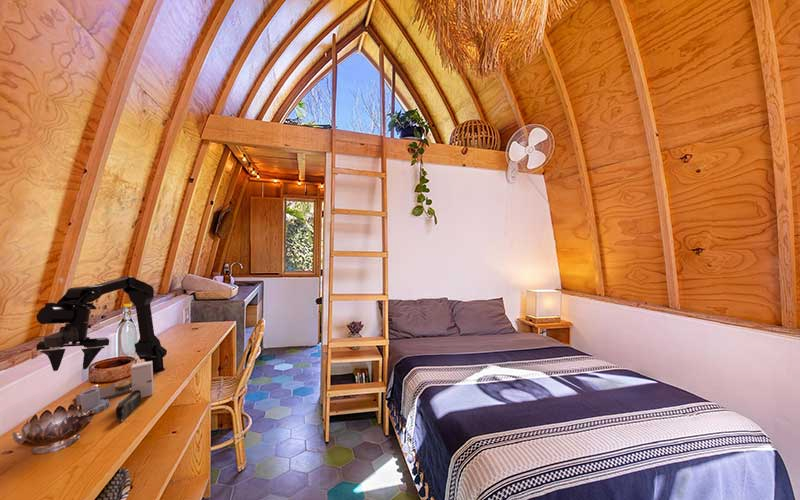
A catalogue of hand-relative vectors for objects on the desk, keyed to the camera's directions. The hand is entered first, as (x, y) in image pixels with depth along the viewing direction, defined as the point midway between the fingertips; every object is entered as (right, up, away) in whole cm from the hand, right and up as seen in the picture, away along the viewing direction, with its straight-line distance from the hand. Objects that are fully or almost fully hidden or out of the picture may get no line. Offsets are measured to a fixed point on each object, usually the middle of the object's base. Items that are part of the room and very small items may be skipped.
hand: (70, 370), depth 106 cm
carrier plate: (-1, -15, +15) cm, 21 cm away
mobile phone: (+20, -15, 0) cm, 25 cm away
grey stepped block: (+5, -15, +3) cm, 16 cm away
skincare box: (+15, -14, +12) cm, 24 cm away
